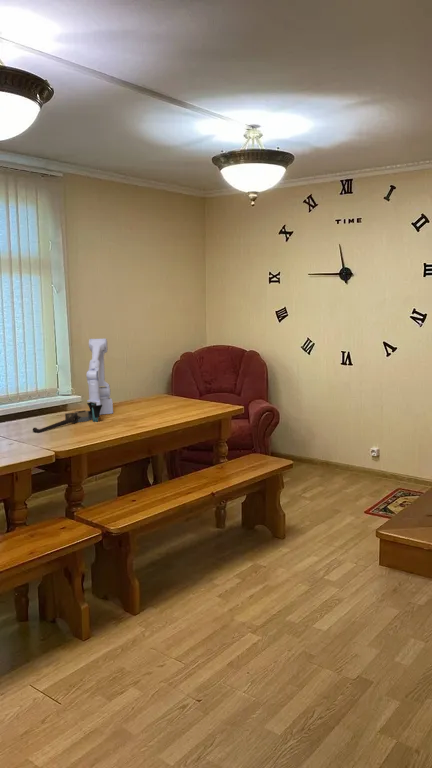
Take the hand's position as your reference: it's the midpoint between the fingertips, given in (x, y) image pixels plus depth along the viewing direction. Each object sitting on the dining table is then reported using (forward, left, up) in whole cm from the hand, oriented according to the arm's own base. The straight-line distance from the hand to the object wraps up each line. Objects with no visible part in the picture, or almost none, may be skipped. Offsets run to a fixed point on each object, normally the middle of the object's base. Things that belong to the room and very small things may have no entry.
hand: (95, 416), depth 342 cm
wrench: (+22, +3, -3) cm, 22 cm away
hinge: (+6, -6, -3) cm, 9 cm away
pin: (0, 0, -3) cm, 3 cm away
